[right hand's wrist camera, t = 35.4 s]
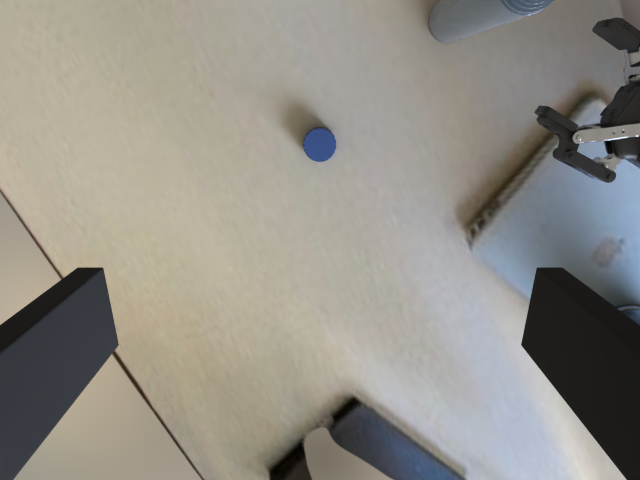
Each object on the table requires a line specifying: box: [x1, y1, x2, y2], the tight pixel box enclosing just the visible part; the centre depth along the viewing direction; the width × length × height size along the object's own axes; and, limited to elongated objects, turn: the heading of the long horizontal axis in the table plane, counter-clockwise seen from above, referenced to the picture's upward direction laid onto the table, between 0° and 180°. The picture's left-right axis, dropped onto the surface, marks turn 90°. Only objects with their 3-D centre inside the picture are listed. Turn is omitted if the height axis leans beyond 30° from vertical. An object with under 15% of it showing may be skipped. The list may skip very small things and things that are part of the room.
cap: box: [303, 127, 336, 162], centre depth 50 cm, size 4×4×2 cm
